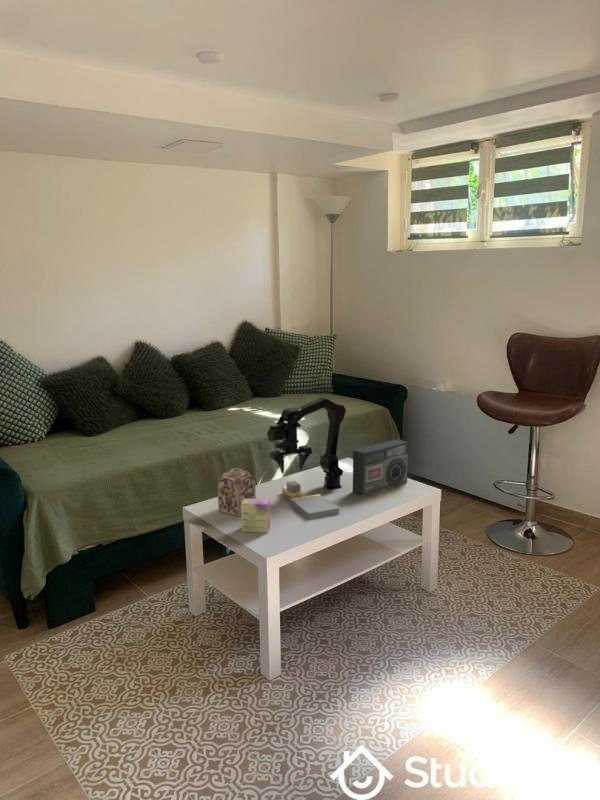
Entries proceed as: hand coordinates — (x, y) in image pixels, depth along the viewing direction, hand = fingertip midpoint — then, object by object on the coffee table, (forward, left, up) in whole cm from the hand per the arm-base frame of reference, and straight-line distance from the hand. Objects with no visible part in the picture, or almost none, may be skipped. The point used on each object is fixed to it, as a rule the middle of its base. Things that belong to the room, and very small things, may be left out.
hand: (291, 471), depth 270 cm
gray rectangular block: (-1, +1, -9) cm, 9 cm away
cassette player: (-43, +7, -12) cm, 45 cm away
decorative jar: (+27, +5, -12) cm, 30 cm away
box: (+27, +27, -12) cm, 40 cm away
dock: (-3, +18, -12) cm, 21 cm away
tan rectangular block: (-1, +1, -12) cm, 12 cm away
